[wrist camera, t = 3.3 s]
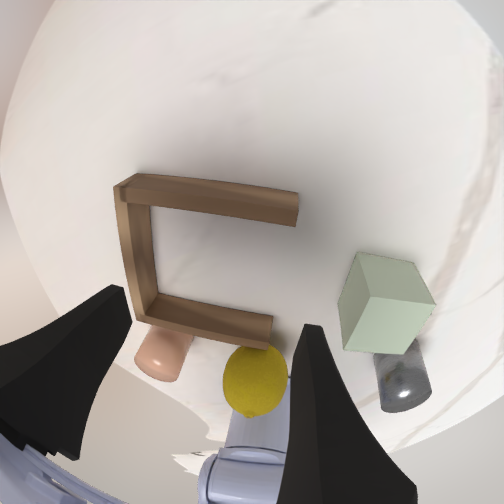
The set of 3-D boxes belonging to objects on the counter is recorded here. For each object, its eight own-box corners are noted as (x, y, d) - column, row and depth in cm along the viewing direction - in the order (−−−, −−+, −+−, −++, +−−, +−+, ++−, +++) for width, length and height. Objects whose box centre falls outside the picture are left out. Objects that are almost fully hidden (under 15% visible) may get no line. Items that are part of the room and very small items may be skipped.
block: (389, 309, 21) (403, 354, 17) (337, 302, 21) (343, 350, 17) (413, 262, 18) (436, 305, 14) (356, 251, 19) (370, 296, 14)
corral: (271, 324, 23) (267, 350, 21) (150, 298, 24) (136, 320, 22) (298, 193, 17) (298, 210, 14) (136, 173, 18) (113, 186, 15)
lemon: (296, 329, 23) (290, 409, 17) (284, 363, 26) (276, 433, 19) (234, 319, 24) (213, 395, 17) (231, 354, 27) (213, 422, 20)
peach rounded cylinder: (194, 348, 27) (180, 386, 23) (157, 338, 27) (139, 373, 23) (192, 321, 25) (175, 362, 21) (151, 311, 25) (129, 348, 21)
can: (404, 366, 25) (413, 411, 20) (366, 364, 25) (372, 413, 20) (426, 337, 22) (441, 385, 17) (386, 334, 22) (398, 387, 17)
